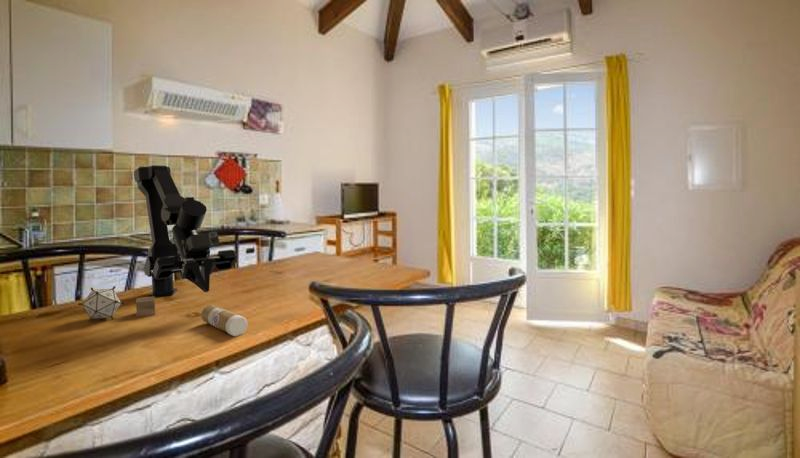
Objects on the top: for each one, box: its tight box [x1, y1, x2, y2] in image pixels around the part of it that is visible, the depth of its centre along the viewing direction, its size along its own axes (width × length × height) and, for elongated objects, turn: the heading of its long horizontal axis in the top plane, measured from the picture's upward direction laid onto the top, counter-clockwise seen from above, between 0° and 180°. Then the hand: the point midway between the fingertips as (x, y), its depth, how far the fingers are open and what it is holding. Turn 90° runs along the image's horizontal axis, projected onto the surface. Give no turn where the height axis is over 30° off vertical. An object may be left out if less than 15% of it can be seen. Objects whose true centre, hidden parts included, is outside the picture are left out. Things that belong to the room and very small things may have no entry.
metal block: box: [135, 296, 156, 318], centre depth 107 cm, size 4×4×4 cm
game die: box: [77, 285, 125, 323], centre depth 103 cm, size 9×8×10 cm
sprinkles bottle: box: [200, 304, 248, 337], centre depth 98 cm, size 5×5×13 cm
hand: (207, 291), depth 101 cm, fingers closed
